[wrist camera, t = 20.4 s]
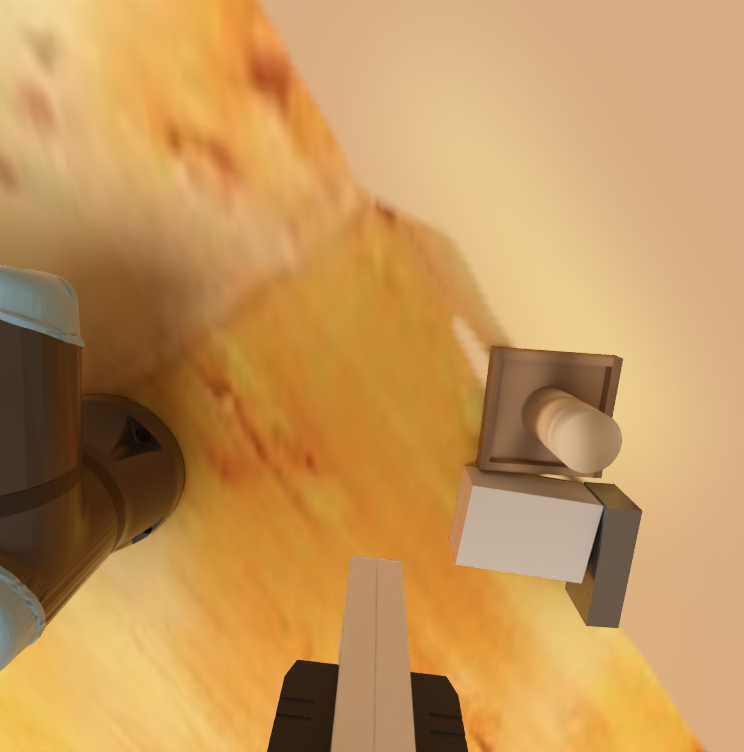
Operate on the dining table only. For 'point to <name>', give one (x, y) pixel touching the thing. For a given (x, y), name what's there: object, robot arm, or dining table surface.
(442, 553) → the dining table surface
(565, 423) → the roller
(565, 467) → the tray
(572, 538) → the slab
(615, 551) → the block
